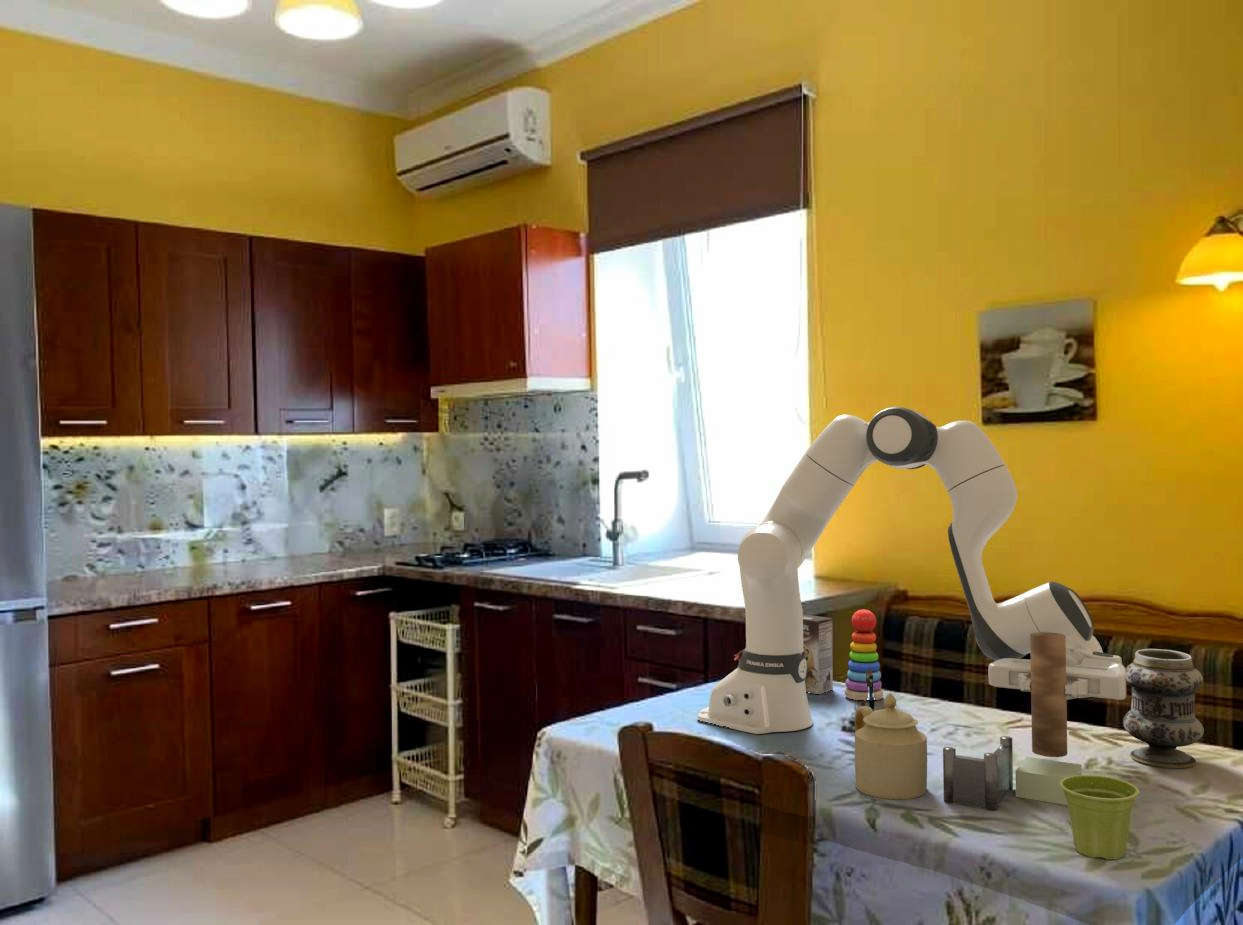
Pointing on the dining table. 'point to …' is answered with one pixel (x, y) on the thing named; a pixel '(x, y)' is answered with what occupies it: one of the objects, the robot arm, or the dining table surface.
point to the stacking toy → (863, 658)
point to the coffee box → (818, 653)
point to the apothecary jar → (1163, 707)
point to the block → (1044, 779)
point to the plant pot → (1099, 814)
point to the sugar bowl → (889, 753)
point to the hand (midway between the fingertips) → (1047, 688)
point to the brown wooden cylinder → (1048, 694)
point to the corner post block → (978, 777)
